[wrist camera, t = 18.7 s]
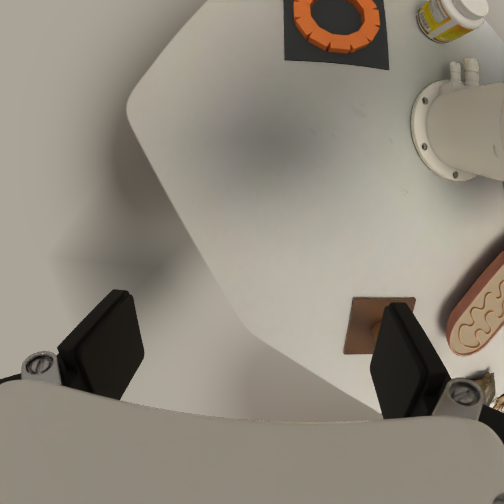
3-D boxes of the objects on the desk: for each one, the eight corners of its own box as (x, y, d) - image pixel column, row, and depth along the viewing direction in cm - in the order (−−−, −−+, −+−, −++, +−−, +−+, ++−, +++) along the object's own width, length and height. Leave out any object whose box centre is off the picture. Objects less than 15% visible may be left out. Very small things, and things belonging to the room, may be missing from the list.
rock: (497, 370, 39) (473, 366, 44) (474, 405, 36) (448, 398, 41) (496, 403, 40) (474, 397, 45) (472, 437, 37) (450, 429, 42)
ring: (291, -17, 26) (291, -24, 24) (371, -10, 25) (375, -15, 23) (295, 50, 29) (295, 46, 27) (378, 57, 28) (383, 54, 26)
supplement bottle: (459, 28, 25) (501, 7, 15) (442, 52, 27) (485, 33, 17) (426, -1, 24) (462, -31, 14) (408, 21, 26) (443, -8, 16)
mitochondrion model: (452, 346, 40) (464, 365, 36) (423, 314, 39) (436, 333, 34) (542, 246, 33) (560, 258, 28) (523, 202, 31) (543, 211, 27)
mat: (282, -24, 26) (282, -25, 25) (380, -13, 25) (381, -14, 24) (284, 60, 30) (284, 59, 30) (388, 70, 29) (389, 69, 28)
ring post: (353, 297, 39) (362, 322, 33) (414, 297, 38) (430, 320, 33) (343, 352, 42) (349, 380, 36) (400, 350, 41) (411, 376, 36)
